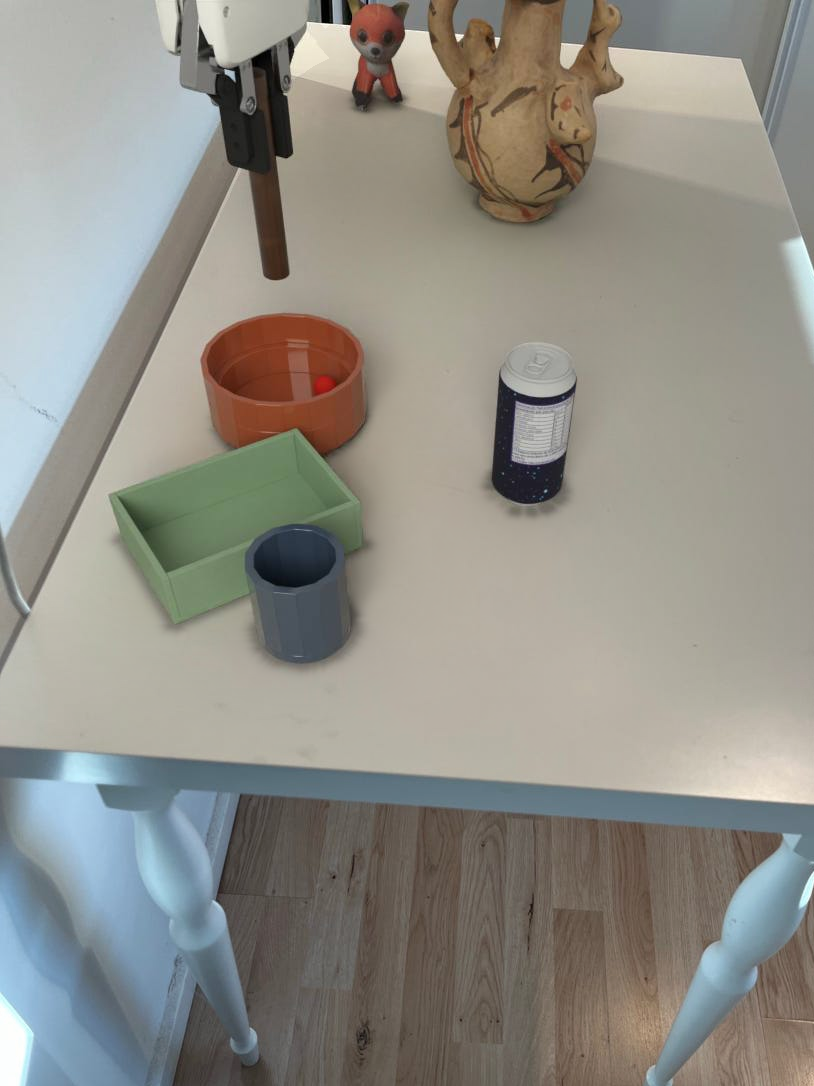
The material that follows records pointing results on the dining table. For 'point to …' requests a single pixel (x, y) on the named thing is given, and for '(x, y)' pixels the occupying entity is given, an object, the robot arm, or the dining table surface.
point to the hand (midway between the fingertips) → (260, 158)
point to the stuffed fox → (376, 47)
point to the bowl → (285, 380)
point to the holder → (299, 592)
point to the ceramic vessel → (523, 102)
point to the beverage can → (533, 422)
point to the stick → (268, 197)
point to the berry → (324, 384)
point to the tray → (228, 518)
